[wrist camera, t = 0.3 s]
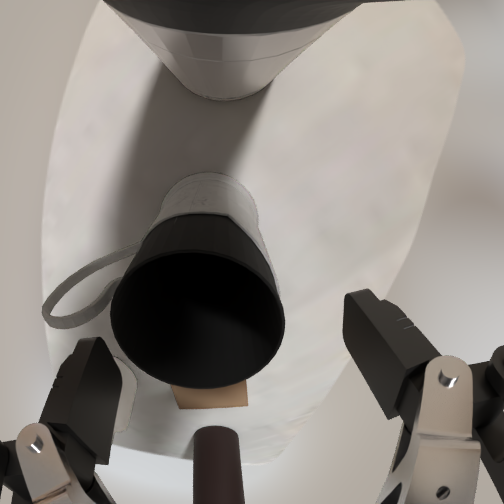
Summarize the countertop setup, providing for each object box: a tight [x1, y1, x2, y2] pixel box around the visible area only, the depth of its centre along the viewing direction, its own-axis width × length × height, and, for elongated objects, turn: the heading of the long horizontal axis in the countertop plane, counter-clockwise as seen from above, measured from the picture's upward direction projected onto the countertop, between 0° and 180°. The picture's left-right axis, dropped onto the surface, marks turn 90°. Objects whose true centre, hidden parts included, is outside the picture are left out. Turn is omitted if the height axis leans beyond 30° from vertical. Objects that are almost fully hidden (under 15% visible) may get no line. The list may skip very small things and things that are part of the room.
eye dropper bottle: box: [111, 357, 138, 445], centre depth 26 cm, size 4×6×12 cm
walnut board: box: [171, 380, 248, 409], centre depth 32 cm, size 12×9×1 cm
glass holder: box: [42, 172, 285, 389], centre depth 19 cm, size 9×14×15 cm, turn 95°
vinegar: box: [193, 426, 245, 504], centre depth 29 cm, size 7×7×20 cm
